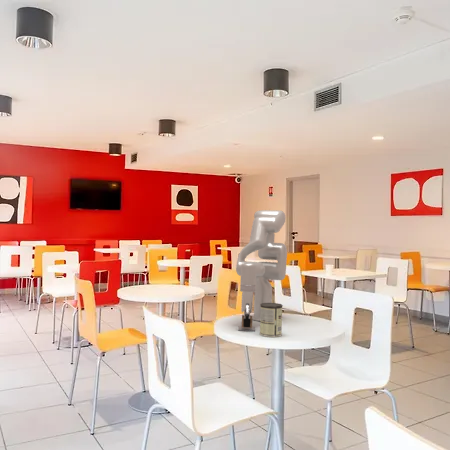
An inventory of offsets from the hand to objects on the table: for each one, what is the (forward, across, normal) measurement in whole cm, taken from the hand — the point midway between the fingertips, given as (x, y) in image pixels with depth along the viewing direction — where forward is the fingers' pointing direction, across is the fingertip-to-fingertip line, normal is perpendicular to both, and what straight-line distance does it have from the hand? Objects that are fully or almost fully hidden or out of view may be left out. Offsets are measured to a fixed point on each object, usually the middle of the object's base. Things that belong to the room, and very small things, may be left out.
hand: (246, 325), depth 218 cm
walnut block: (+1, 0, 0) cm, 1 cm away
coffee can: (+2, +10, +11) cm, 15 cm away
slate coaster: (+2, 0, 0) cm, 2 cm away
